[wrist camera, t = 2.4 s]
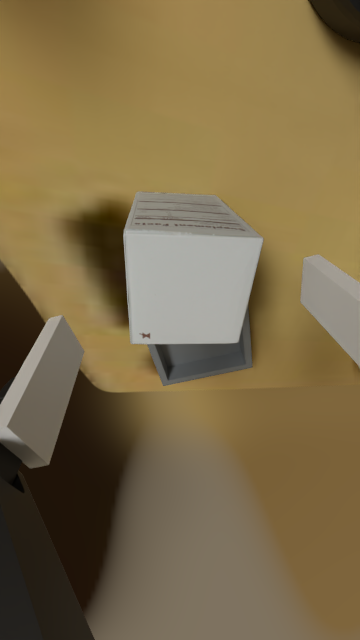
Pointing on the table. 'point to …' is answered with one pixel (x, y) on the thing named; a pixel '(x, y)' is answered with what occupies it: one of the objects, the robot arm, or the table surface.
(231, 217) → the supplement box
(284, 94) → the table surface
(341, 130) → the table surface
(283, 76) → the table surface
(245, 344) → the charcoal tray
